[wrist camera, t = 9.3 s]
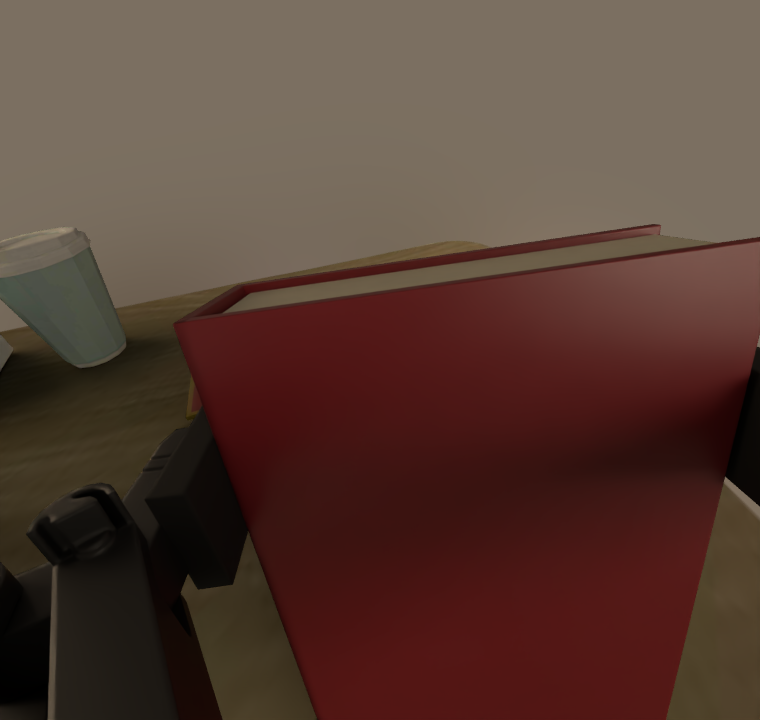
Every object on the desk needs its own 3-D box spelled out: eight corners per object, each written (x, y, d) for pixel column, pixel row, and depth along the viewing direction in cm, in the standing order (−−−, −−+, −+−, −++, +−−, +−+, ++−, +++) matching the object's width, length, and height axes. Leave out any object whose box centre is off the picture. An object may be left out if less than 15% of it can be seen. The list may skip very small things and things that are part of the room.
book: (236, 284, 11) (171, 323, 7) (653, 223, 10) (784, 236, 7) (357, 706, 18) (352, 815, 15) (598, 688, 18) (646, 799, 14)
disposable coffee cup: (73, 341, 52) (-10, 232, 43) (155, 320, 54) (91, 210, 45) (40, 390, 44) (-71, 267, 35) (139, 364, 45) (56, 239, 36)
